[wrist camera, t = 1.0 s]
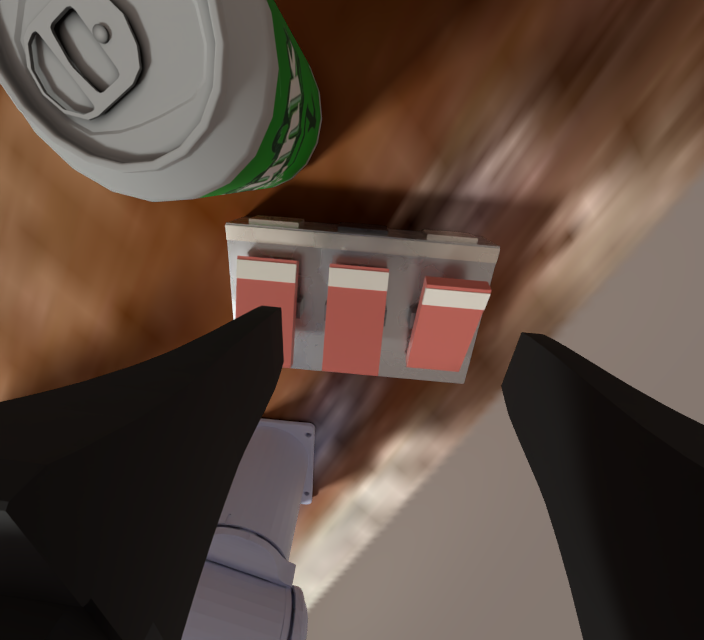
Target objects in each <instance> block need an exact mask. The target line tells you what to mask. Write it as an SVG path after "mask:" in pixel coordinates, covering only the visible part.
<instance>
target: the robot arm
mask: <svg viewBox="0 0 704 640" xmlns="http://www.w3.org/2000/svg"><path fill="white" fill-rule="evenodd" d="M283 363H284V353H283V331H282V310H281V307H272V306H259V307H257V308H255V309H253V310H251V311H249V312H247V313H245V314H243V315H242V316H240V317H238V318H236V319H234V320H232V321H231V322H229V323H227V324H225V325H223V326H221V327H219V328H217V329H216V330H214V331H212V332H210V333H208V334H206V335H204V336H202V337H199V338H197V339H195V340H193V341H191V342H189V343H187V344H185V345H183V346H181V347H179V348H176V349H174V350H172V351H170V352H167V353H165V354H162V355H160V356H157V357H155V358H152V359H150V360H147V361H144V362H142V363H139V364H136V365H134V366H131V367H128V368H125V369H121V370H118V371H115V372H112V373H109V374H106V375H102V376H99V377H96V378H93V379H90V380H87V381H83V382H80V383H76V384H72V385H69V386H65V387H61V388H58V389H54V390H50V391H46V392H42V393H37V394H33V395H29V396H25V397H21V398H16V399H12V400H7V401H3V402H0V640H306V637H307V625H308V614H307V607H306V604H305V601H304V595H303V592H302V590H301V588H300V587H298V586H294V585H292V583H293V578H294V573H295V567H296V565H295V564H293V563H291V562H289V556H290V551H291V546H292V541H293V537H294V532H295V527H296V522H297V517H298V512H299V508H300V504H310V503H311V502H312V492H313V467H314V442H315V426H314V425H313V424H311V423H305V422H294V421H283V420H272V419H262V418H261V417H262V415H263V413H264V411H265V409H266V407H267V405H268V403H269V401H270V399H271V396H272V394H273V392H274V390H275V388H276V385H277V382H278V379H279V376H280V373H281V369H282V366H283ZM501 387H502V391H503V395H504V399H505V403H506V407H507V411H508V414H509V417H510V420H511V422H512V424H513V427H514V429H515V432H516V434H517V436H518V439H519V441H520V443H521V446H522V448H523V451H524V453H525V455H526V458H527V460H528V462H529V465H530V467H531V469H532V472H533V474H534V476H535V479H536V481H537V483H538V486H539V488H540V491H541V493H542V496H543V498H544V501H545V504H546V507H547V510H548V513H549V516H550V519H551V523H552V526H553V529H554V532H555V535H556V539H557V542H558V545H559V549H560V552H561V556H562V560H563V563H564V567H565V570H566V574H567V577H568V580H569V584H570V588H571V592H572V596H573V600H574V604H575V608H576V612H577V616H578V620H579V624H580V628H581V632H582V636H583V640H704V425H703V424H700V423H699V422H697V421H695V420H693V419H691V418H688V417H686V416H685V415H683V414H681V413H679V412H677V411H675V410H673V409H671V408H669V407H667V406H665V405H664V404H662V403H660V402H658V401H656V400H655V399H653V398H651V397H649V396H647V395H646V394H644V393H642V392H640V391H639V390H637V389H635V388H633V387H632V386H630V385H628V384H626V383H625V382H623V381H622V380H620V379H618V378H616V377H615V376H613V375H611V374H610V373H608V372H607V371H605V370H603V369H602V368H600V367H598V366H597V365H595V364H593V363H592V362H590V361H589V360H587V359H585V358H584V357H582V356H581V355H579V354H577V353H575V352H574V351H572V350H571V349H569V348H567V347H566V346H564V345H562V344H560V343H559V342H557V341H555V340H553V339H551V338H549V337H547V336H545V335H543V334H533V333H523V332H522V333H521V335H520V338H519V341H518V343H517V346H516V349H515V351H514V354H513V356H512V359H511V362H510V364H509V367H508V370H507V372H506V375H505V377H504V380H503V383H502V385H501ZM307 433H310V434H307Z"/></svg>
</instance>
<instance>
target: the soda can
mask: <svg viewBox="0 0 704 640" xmlns="http://www.w3.org/2000/svg"><path fill="white" fill-rule="evenodd" d="M0 83H1V85H2V86H3V88H4V89H5V91H6V92H7V94H8V95H9V96H10V98H11V99H12V101H13V102H14V104H15V105H16V107H17V108H18V110H19V111H20V112H21V113H22V114H23V115H24V117H25V118H26V119H27V121H28V122H29V124H30V125H31V127H32V128H33V130H34V131H35V133H36V134H37V135H38V136H39V137H40V138H42V139H43V140H44V141H45V142H46V143H47V144H48V145H49V146H50V147H51V148H52V149H53V150H54V151H55V152H56V153H57V154H58V155H59V156H60V157H62V158H63V159H64V160H65V161H66V162H67V163H68V164H69V165H70V166H71V167H72V168H73V169H75V170H76V171H78V172H80V173H82V174H83V175H85V176H87V177H88V178H90V179H92V180H94V181H95V182H97V183H99V184H100V185H102V186H104V187H106V188H107V189H109V190H111V191H113V192H117V193H121V194H125V195H128V196H132V197H136V198H140V199H144V200H148V201H152V202H159V201H173V200H187V199H195V198H202V197H209V196H216V195H223V194H230V193H237V192H244V191H250V190H257V189H264V188H271V187H275V186H278V185H280V184H282V183H284V182H286V181H288V180H291V179H293V178H294V177H295V176H296V175H297V174H298V173H299V172H300V171H301V170H302V169H303V168H304V167H305V166H306V165H307V164H308V162H309V160H310V158H311V156H312V154H313V152H314V150H315V148H316V146H317V144H318V139H319V134H320V128H321V123H322V112H321V101H320V92H319V89H318V87H317V84H316V81H315V79H314V76H313V73H312V70H311V68H310V66H309V64H308V62H307V60H306V58H305V56H304V55H303V53H302V51H301V49H300V47H299V45H298V44H297V42H296V40H295V38H294V36H293V35H292V33H291V31H290V29H289V27H288V25H287V24H286V22H285V20H284V18H283V16H282V14H281V13H280V11H279V9H278V7H277V5H276V3H275V2H274V0H0Z"/></svg>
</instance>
